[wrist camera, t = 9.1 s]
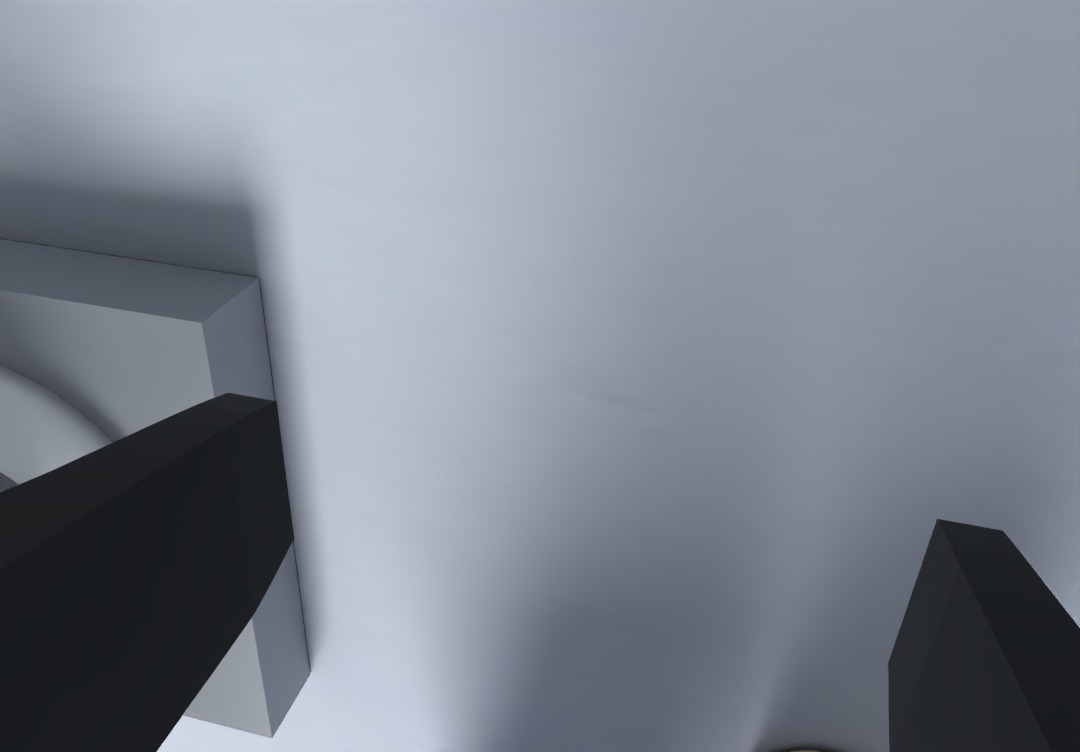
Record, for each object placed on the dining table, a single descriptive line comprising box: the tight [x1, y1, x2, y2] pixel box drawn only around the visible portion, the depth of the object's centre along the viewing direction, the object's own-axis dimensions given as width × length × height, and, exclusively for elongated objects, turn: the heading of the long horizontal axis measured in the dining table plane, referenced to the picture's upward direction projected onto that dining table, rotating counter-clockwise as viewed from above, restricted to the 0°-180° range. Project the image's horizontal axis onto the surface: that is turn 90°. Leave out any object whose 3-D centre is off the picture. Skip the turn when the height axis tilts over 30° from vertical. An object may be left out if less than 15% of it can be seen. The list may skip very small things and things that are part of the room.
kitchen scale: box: [0, 239, 310, 738], centre depth 25 cm, size 14×15×5 cm
